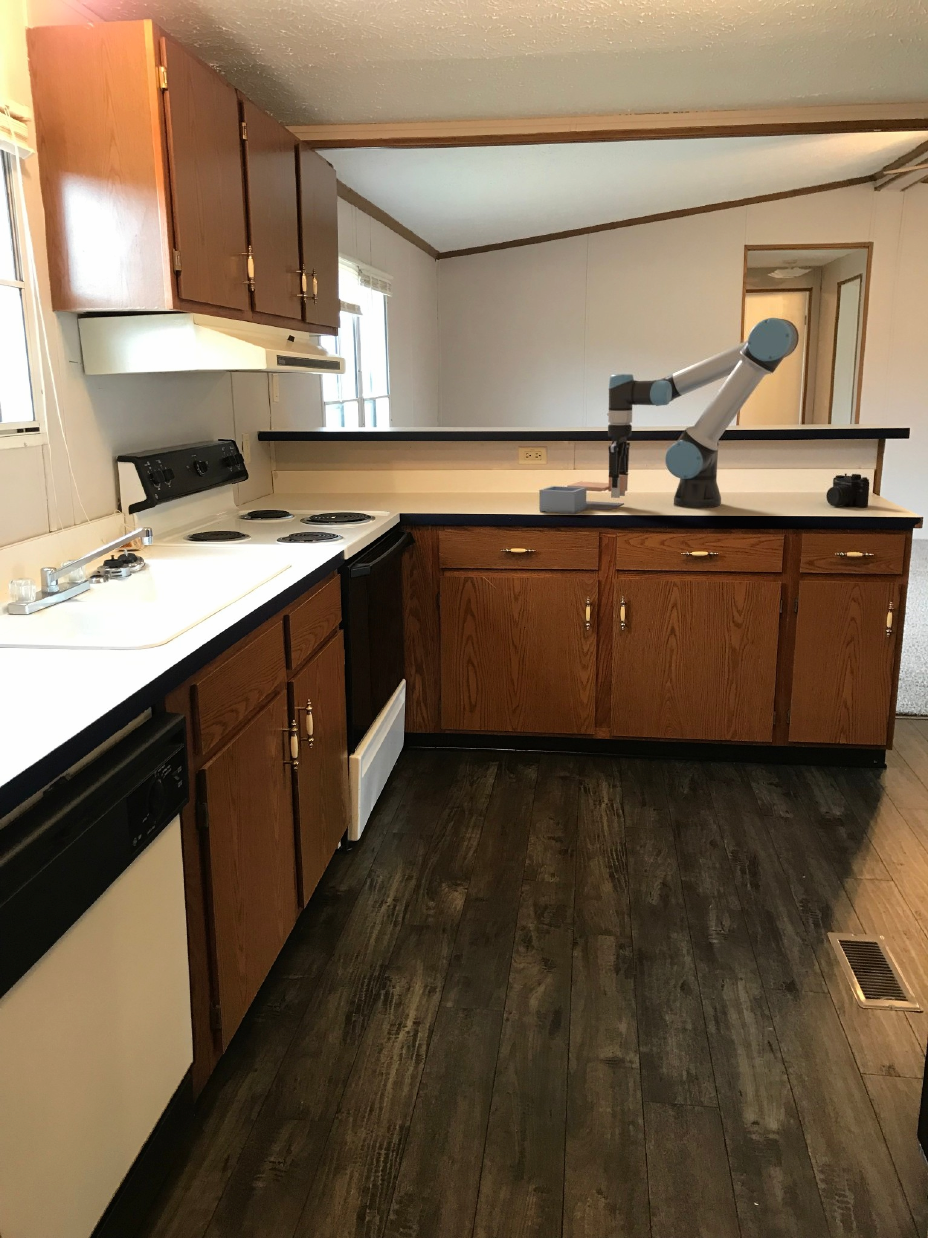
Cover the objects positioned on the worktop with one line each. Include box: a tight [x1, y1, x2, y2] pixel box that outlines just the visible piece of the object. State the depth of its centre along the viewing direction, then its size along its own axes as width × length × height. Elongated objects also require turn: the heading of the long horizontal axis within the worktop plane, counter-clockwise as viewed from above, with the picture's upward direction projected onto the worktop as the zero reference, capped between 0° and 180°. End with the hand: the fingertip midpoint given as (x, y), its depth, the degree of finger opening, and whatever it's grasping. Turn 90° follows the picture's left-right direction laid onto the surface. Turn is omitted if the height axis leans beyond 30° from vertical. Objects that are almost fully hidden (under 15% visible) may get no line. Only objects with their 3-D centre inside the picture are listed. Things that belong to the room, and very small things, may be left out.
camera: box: [825, 472, 870, 509], centre depth 315 cm, size 14×11×10 cm
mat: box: [586, 500, 625, 511], centre depth 328 cm, size 17×13×1 cm
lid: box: [566, 474, 629, 493], centre depth 325 cm, size 18×11×5 cm, turn 61°
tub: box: [538, 485, 587, 515], centre depth 318 cm, size 12×10×7 cm
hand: (617, 496), depth 323 cm, fingers closed on lid, 4 cm apart
